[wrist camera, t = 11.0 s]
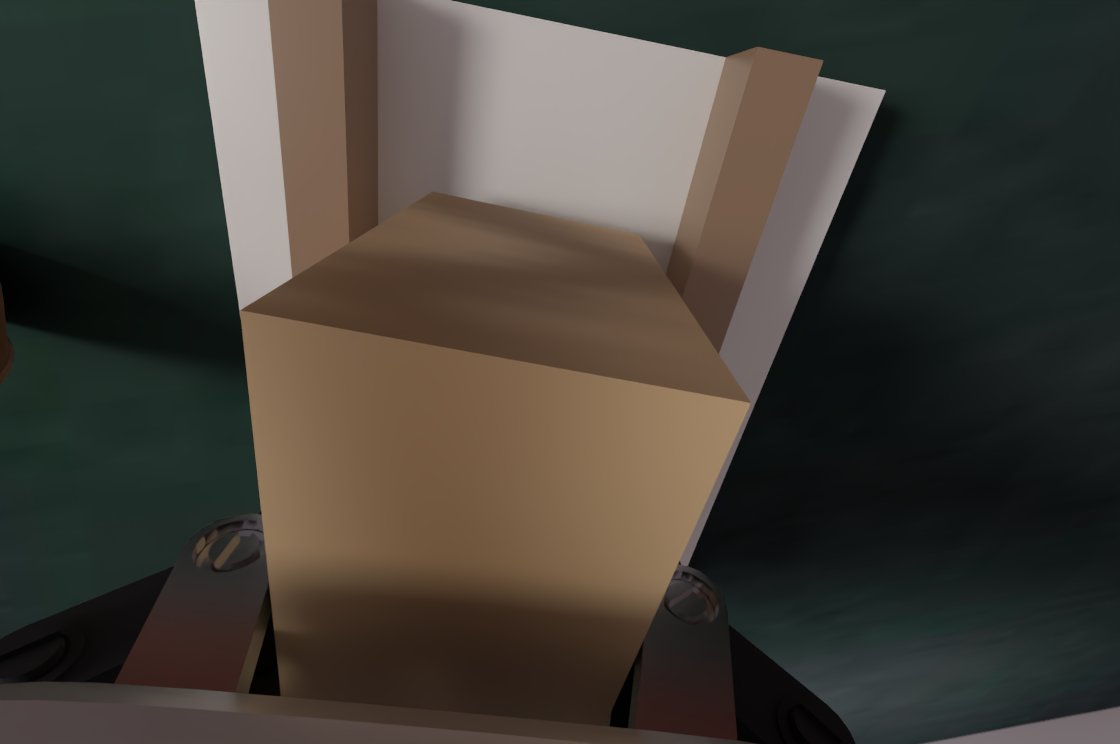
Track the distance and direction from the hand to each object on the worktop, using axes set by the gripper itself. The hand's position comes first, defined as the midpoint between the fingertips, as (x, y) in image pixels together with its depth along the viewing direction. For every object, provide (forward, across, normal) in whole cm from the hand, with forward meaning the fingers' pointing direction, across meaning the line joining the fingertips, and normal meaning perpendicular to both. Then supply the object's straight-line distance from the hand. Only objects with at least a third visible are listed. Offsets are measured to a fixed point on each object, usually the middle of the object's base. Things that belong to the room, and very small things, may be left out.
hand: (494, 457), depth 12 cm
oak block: (+1, 0, 0) cm, 1 cm away
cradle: (+4, 0, 0) cm, 4 cm away
